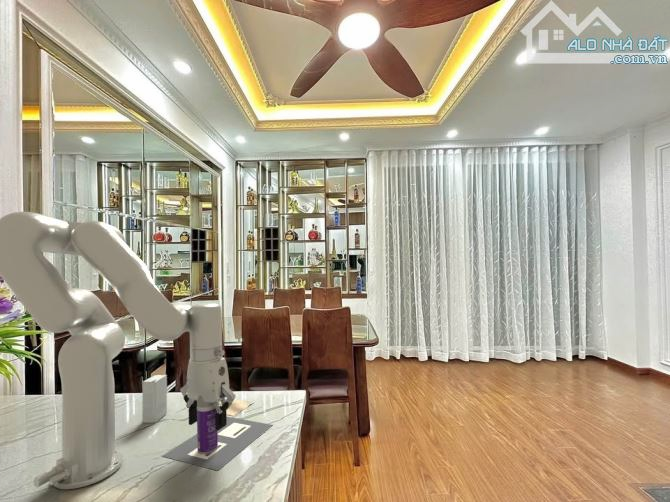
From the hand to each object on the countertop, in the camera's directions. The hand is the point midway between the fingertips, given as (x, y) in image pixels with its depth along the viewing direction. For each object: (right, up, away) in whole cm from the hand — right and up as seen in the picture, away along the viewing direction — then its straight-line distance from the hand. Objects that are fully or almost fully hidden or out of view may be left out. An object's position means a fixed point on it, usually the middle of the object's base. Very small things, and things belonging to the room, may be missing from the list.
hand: (207, 424), depth 82 cm
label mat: (+2, -6, +4) cm, 8 cm away
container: (0, -6, 0) cm, 6 cm away
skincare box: (-23, -8, +18) cm, 30 cm away
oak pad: (-2, -7, +24) cm, 25 cm away
